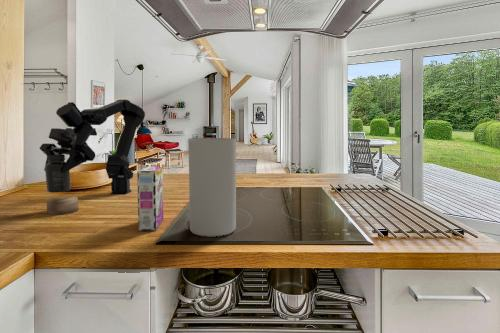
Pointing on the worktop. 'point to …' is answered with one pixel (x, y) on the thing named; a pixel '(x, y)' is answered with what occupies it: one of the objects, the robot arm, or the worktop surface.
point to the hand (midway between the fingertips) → (53, 171)
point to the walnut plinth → (62, 205)
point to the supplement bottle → (57, 174)
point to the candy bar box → (150, 198)
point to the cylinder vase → (212, 186)
